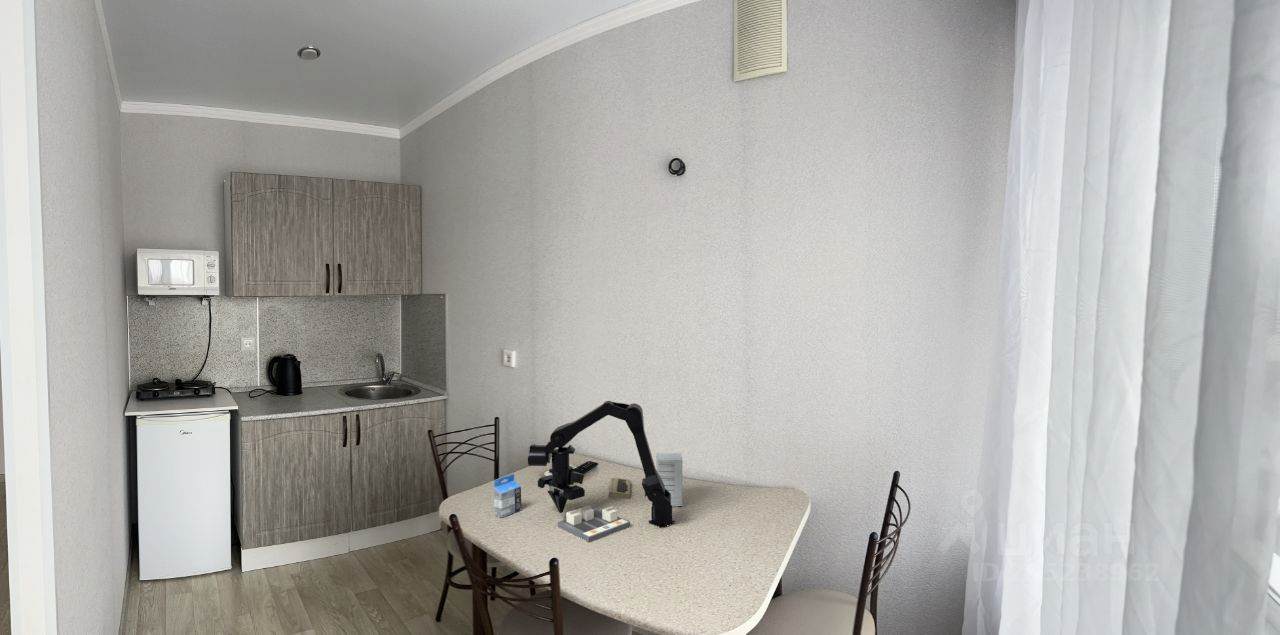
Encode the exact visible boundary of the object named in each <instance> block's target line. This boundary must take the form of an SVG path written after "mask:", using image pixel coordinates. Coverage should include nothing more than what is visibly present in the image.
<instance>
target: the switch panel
mask: <svg viewBox="0 0 1280 635" xmlns="http://www.w3.org/2000/svg"><path fill="white" fill-rule="evenodd" d="M593 510H594V519H591V520H588V521H585V520H583V519H582V523H580V524H577V525H572V524H570V523H568V522H566V519H563V520H560V521H558V522H557V527H558V528H559V529H561V530H563V531H565V532H567V533H570V534H571V533H572V534H571V535H573V536H575V537H577V538H579V537H580V538H579V539H581V538H582V539H581V540H583V539H584V540H583V541H585V540H586V541H585V542H587V541H588V542H587V543H591V542H594V541H596V539H597V540H599V539H601V537H602V538H604V536H605V537H606V536H609V534H610V535H612V534H615V533H617V531H618V532H620V531H622V529H623V530H625V529H627V527H628V528H630V527H631V521H629V520H626V519H625V518H622V517H619V516H617V520H615V521H612V522H609V521H606V520H604V519H602V510H603V509H600V508H596V509H593ZM629 526H630V527H629ZM624 528H625V529H624ZM614 532H615V533H614ZM593 540H594V541H593ZM590 541H591V542H590Z"/></svg>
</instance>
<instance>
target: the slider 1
mask: <svg viewBox="0 0 1280 635" xmlns="http://www.w3.org/2000/svg"><path fill="white" fill-rule="evenodd" d="M565 520H566V522H568V523H570V524H572V525H577V524H580V523H582V514H581V513H579V508H578V509H573V510H570V511H567V512H566V519H565Z"/></svg>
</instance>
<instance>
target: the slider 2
mask: <svg viewBox="0 0 1280 635" xmlns="http://www.w3.org/2000/svg"><path fill="white" fill-rule="evenodd" d="M601 510H602V519H604V520H606V521H609V522H612V521H615V520H617V517H618V510H617V509H615V506H608V507H606V508H603V509H601Z"/></svg>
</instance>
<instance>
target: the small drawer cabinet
mask: <svg viewBox="0 0 1280 635" xmlns="http://www.w3.org/2000/svg"><path fill="white" fill-rule="evenodd" d="M683 467H684V466H683V457H682V453H681V452H657V453H656V471H657V472H658V474H659V475H660V477H661V479H662V481H663V483H664V486H665V489H666V490H667V491H668V492H669V493H670V494H671V505H672V506H682V507H683V480H684V479H683V478H684V477H683V476H684V475H683V472H684V471H683Z"/></svg>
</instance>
